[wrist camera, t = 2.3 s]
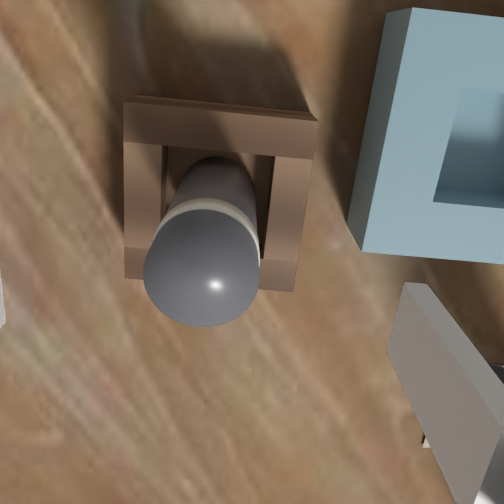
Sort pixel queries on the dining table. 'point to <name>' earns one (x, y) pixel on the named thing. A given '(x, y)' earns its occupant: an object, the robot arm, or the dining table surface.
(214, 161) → the plug
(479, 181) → the port
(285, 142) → the wooden square frame
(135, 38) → the dining table surface
